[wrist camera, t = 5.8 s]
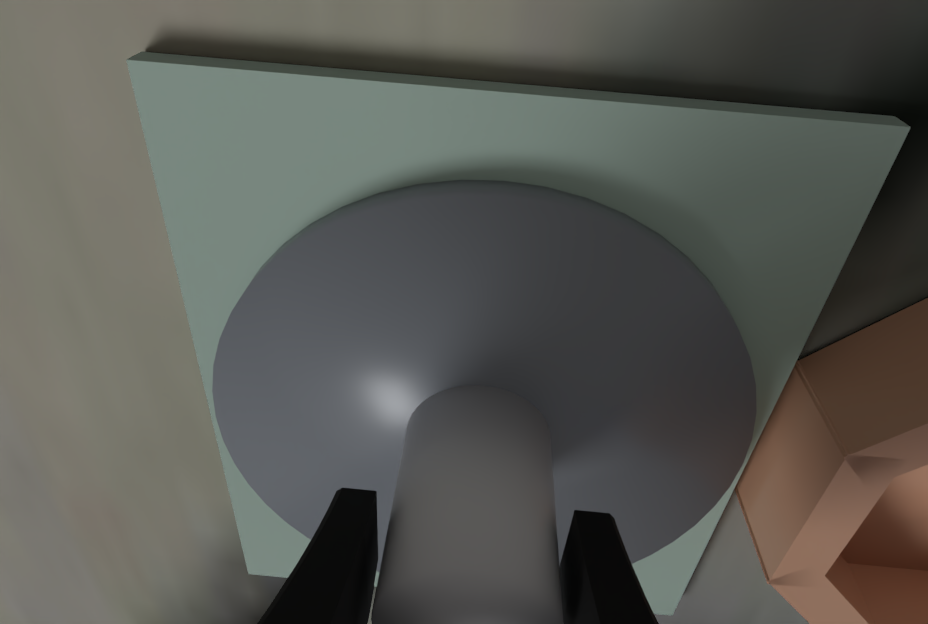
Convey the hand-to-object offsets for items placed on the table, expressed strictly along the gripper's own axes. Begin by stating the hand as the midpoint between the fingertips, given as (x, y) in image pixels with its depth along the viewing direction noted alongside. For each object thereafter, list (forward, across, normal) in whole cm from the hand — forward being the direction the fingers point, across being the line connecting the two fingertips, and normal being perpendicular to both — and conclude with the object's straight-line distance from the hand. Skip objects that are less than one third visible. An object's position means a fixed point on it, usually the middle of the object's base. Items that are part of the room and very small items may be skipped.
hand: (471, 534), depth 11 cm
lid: (+3, 0, 0) cm, 3 cm away
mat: (+3, 0, 0) cm, 3 cm away
